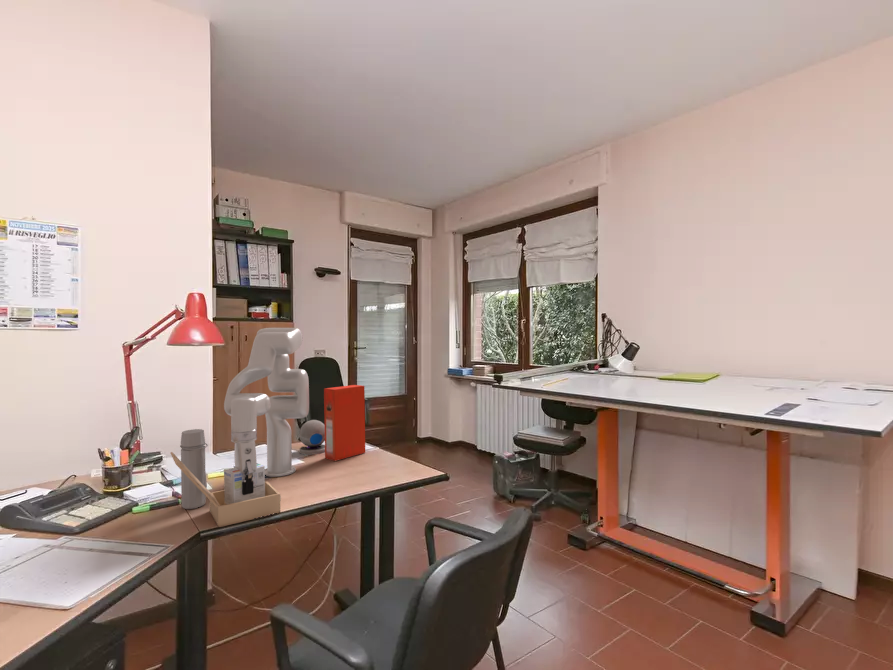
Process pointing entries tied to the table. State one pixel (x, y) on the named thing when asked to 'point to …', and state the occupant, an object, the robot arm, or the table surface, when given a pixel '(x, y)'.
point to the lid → (193, 479)
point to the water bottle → (193, 467)
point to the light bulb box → (234, 485)
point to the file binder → (344, 421)
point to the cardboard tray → (244, 507)
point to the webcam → (312, 437)
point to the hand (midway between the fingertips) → (244, 489)
